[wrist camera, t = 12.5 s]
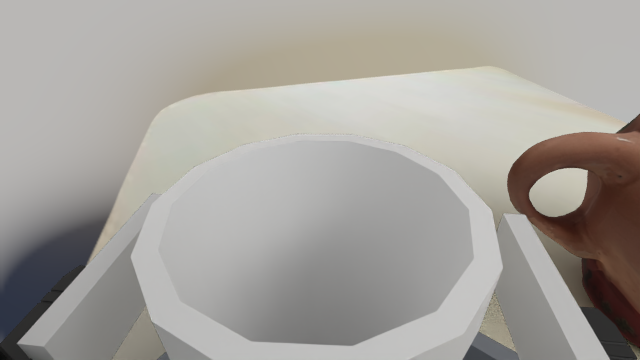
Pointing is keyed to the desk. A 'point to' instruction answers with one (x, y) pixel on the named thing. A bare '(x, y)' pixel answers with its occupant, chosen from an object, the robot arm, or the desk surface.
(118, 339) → the robot arm
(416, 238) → the foam cup
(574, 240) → the sculpted ceramic mug
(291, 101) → the desk surface
